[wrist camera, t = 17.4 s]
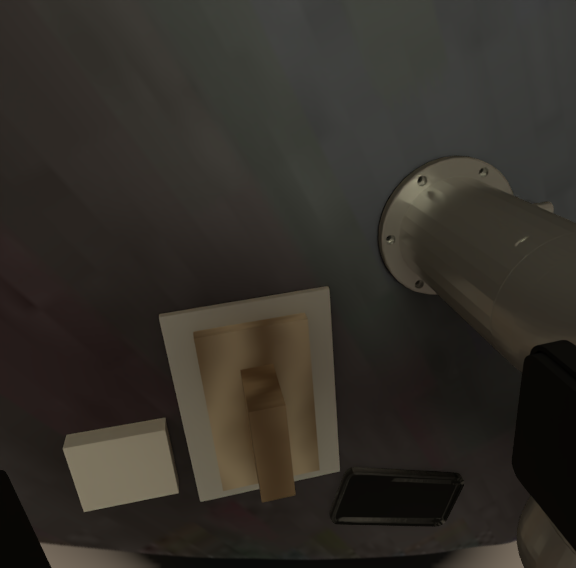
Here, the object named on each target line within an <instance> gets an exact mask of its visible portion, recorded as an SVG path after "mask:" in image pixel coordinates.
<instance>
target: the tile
mask: <svg viewBox="0 0 576 568" xmlns="http://www.w3.org/2000/svg"><path fill="white" fill-rule="evenodd" d="M63 451H64V454H65V457H66V460H67V463H68V466H69V469H70V472H71V475H72V478H73V481H74V484H75V487H76V490H77V493H78V496H79V499H80V502H81V505H82V507H83V510H84V512H86V511H91V510H96V509H101V508H106V507H111V506H116V505H121V504H126V503H131V502H136V501H141V500H146V499H151V498H156V497H161V496H166V495H171V494H176V493H179V479H178V474H177V469H176V465H175V460H174V455H173V451H172V446H171V441H170V436H169V432H168V427H167V422H166V418H160V419H154V420H149V421H143V422H137V423H132V424H126V425H120V426H115V427H109V428H103V429H98V430H92V431H86V432H81V433H75V434H69V435H66V439H65V443H64V446H63Z"/></svg>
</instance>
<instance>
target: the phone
mask: <svg viewBox="0 0 576 568" xmlns="http://www.w3.org/2000/svg"><path fill="white" fill-rule="evenodd" d="M463 486H464V480H463V478H462V477H461V475H460V474H458V473H451V472H433V471H415V470H397V469H380V468H362V467H353V468H350V469H348V470H347V471H346V472H345V473H344V475H343V478H342V481H341V483H340V486H339V489H338V491H337V494H336V497H335V499H334V502H333V505H332V507H331V510H330V517H331V520H332V522H333V523H335V524H347V525H391V526H440V525H442V524H443V523H445V522H446V520H447V518H448V516H449V514H450V512H451V510H452V508H453V506H454V504H455V502H456V500H457V498H458V496H459V494H460V492H461V490H462V488H463ZM339 491H340V492H339ZM338 493H339V495H338Z"/></svg>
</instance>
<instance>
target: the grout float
mask: <svg viewBox="0 0 576 568" xmlns="http://www.w3.org/2000/svg"><path fill="white" fill-rule="evenodd" d="M193 336H194V343H195V348H196V353H197V358H198V364H199V369H200V374H201V379H202V384H203V389H204V395H205V400H206V405H207V410H208V415H209V420H210V426H211V431H212V436H213V441H214V446H215V451H216V457H217V462H218V467H219V472H220V477H221V482H222V488H223V491H226V490H231V489H235V488H240V487H245V486H249V485H254V484H258V483H259V489H260V494H261V499H262V502H267V501H271V500H276V499H280V498H285V497H289V496H294V495H295V485H294V476H295V475H300V474H305V473H309V472H314V471H318V470H320V468H319V456H318V443H317V430H316V417H315V404H314V392H313V379H312V366H311V353H310V340H309V328H308V318H307V316H306V314H305V313H299V314H293V315H287V316H282V317H276V318H270V319H264V320H258V321H252V322H247V323H241V324H235V325H229V326H223V327H218V328H212V329H206V330H200V331H194V332H193Z"/></svg>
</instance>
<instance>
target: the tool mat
mask: <svg viewBox="0 0 576 568" xmlns="http://www.w3.org/2000/svg"><path fill="white" fill-rule="evenodd" d="M299 313H305V314H306V316H307V318H308V328H309V340H310V353H311V366H312V379H313V392H314V404H315V417H316V430H317V443H318V456H319V468H320V470H318V471H314V472H309V473H305V474H300V475H295V476H294V481H298V480H302V479H307V478H312V477H316V476H321V475H325V474H330V473H334V472H339V471H340V465H339V447H338V430H337V412H336V395H335V377H334V360H333V342H332V325H331V307H330V290H329V287H328V286H324V287H318V288H312V289H306V290H300V291H294V292H288V293H282V294H276V295H270V296H265V297H259V298H253V299H247V300H241V301H235V302H229V303H223V304H217V305H211V306H205V307H199V308H193V309H187V310H181V311H175V312H169V313H163V314H159V321H160V325H161V330H162V334H163V338H164V343H165V347H166V352H167V356H168V361H169V365H170V369H171V374H172V378H173V383H174V387H175V392H176V396H177V400H178V405H179V409H180V414H181V418H182V423H183V427H184V432H185V436H186V440H187V445H188V449H189V454H190V458H191V463H192V467H193V471H194V476H195V480H196V485H197V489H198V494H199V498H200V502H202V501H207V500H211V499H216V498H220V497H225V496H230V495H234V494H239V493H243V492H248V491H252V490H257V489H259V483H258V484H254V485H249V486H245V487H240V488H235V489H231V490H226V491H223V488H222V482H221V477H220V472H219V467H218V462H217V457H216V451H215V446H214V441H213V436H212V431H211V426H210V420H209V415H208V410H207V405H206V400H205V395H204V389H203V384H202V379H201V374H200V369H199V364H198V358H197V353H196V348H195V343H194V336H193V332H194V331H200V330H206V329H212V328H218V327H223V326H229V325H235V324H241V323H247V322H252V321H258V320H264V319H270V318H276V317H282V316H287V315H293V314H299Z"/></svg>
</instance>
